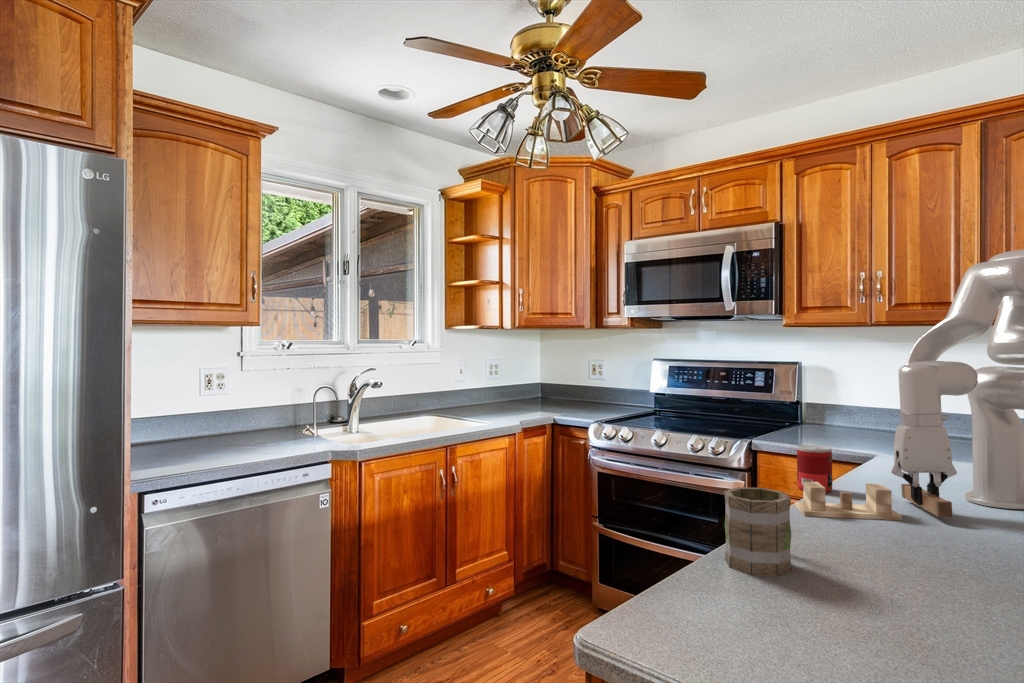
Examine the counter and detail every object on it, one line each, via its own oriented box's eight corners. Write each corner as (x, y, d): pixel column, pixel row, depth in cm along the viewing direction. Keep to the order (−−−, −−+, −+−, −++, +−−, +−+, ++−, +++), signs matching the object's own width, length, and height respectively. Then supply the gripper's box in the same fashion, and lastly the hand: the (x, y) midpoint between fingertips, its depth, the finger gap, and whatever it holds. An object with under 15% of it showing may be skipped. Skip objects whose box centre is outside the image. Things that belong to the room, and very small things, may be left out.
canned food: (836, 494, 150) (836, 450, 150) (802, 493, 151) (801, 449, 151) (827, 487, 157) (826, 445, 157) (794, 486, 159) (793, 444, 159)
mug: (787, 581, 96) (786, 505, 96) (717, 569, 101) (716, 497, 101) (799, 552, 109) (798, 485, 109) (737, 542, 115) (736, 479, 115)
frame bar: (902, 497, 142) (901, 483, 142) (914, 497, 142) (913, 483, 142) (938, 517, 125) (937, 502, 125) (952, 517, 124) (951, 502, 124)
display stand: (886, 510, 135) (886, 483, 135) (901, 520, 127) (901, 491, 127) (795, 506, 139) (795, 480, 139) (804, 515, 131) (804, 488, 132)
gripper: (953, 417, 135) (957, 498, 135) (874, 418, 139) (878, 498, 139) (971, 422, 128) (975, 508, 128) (887, 423, 131) (891, 508, 131)
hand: (925, 502), depth 133 cm, fingers closed on frame bar, 2 cm apart
